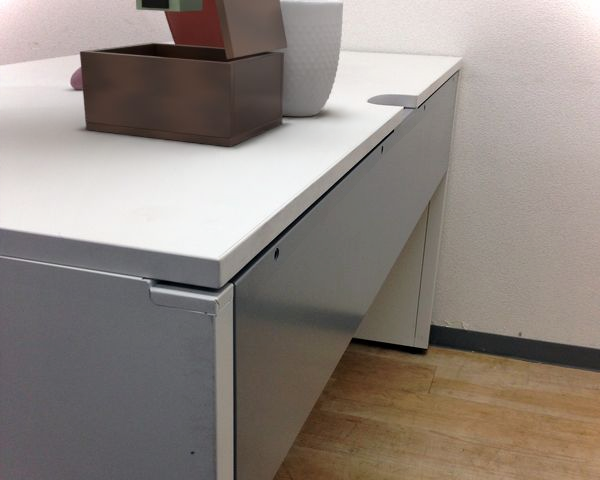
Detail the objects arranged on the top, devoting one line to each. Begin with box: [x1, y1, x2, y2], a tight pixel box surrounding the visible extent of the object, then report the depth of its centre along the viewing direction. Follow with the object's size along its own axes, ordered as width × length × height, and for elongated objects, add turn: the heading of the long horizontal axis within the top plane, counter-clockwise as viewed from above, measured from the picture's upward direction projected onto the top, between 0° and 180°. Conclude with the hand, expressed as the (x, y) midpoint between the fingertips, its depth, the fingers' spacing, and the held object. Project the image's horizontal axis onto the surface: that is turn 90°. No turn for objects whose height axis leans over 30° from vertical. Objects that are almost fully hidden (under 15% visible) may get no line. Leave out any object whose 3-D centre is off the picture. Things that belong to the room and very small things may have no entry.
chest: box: [79, 42, 284, 148], centre depth 78 cm, size 17×14×8 cm
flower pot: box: [163, 0, 225, 48], centre depth 126 cm, size 19×19×17 cm
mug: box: [271, 0, 344, 118], centre depth 89 cm, size 15×11×13 cm
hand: (169, 6), depth 75 cm, fingers closed on block, 5 cm apart
